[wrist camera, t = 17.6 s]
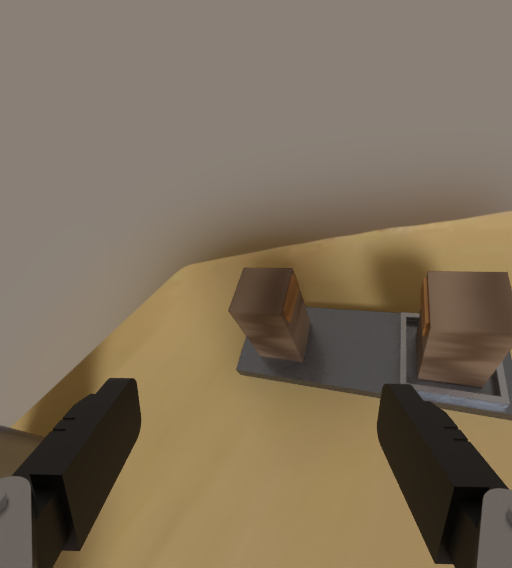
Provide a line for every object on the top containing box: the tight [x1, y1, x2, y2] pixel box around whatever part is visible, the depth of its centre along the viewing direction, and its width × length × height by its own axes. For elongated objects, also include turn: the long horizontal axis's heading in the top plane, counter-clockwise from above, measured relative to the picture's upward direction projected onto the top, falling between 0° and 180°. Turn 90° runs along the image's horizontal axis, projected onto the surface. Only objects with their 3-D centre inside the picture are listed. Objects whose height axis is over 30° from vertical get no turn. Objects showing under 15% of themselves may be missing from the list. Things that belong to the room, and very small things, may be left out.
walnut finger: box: [417, 271, 512, 388], centre depth 25 cm, size 5×5×10 cm
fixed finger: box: [228, 268, 311, 362], centre depth 32 cm, size 5×5×10 cm
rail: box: [236, 307, 512, 420], centre depth 32 cm, size 26×9×2 cm, turn 74°
